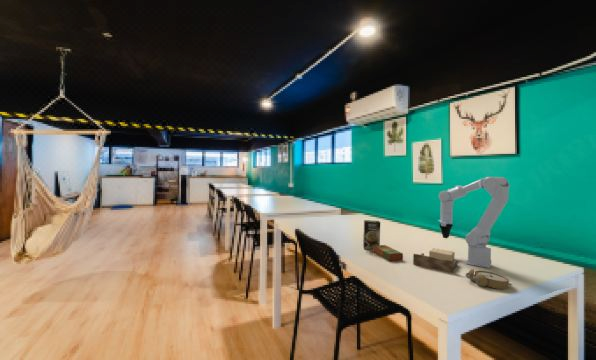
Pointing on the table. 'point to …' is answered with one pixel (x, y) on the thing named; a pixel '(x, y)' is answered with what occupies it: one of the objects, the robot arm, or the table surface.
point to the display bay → (434, 262)
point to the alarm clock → (488, 279)
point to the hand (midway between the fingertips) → (445, 237)
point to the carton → (387, 253)
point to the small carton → (442, 254)
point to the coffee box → (371, 234)
